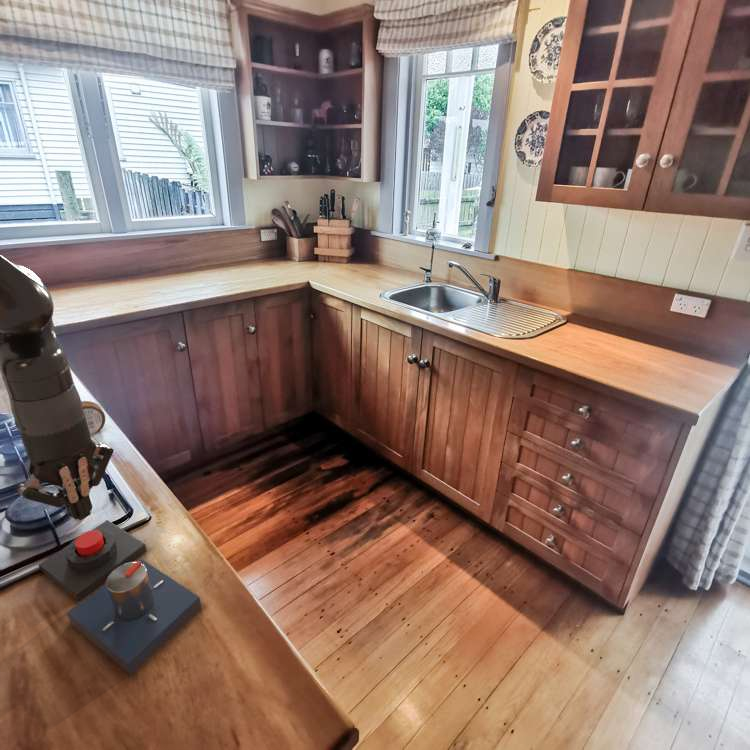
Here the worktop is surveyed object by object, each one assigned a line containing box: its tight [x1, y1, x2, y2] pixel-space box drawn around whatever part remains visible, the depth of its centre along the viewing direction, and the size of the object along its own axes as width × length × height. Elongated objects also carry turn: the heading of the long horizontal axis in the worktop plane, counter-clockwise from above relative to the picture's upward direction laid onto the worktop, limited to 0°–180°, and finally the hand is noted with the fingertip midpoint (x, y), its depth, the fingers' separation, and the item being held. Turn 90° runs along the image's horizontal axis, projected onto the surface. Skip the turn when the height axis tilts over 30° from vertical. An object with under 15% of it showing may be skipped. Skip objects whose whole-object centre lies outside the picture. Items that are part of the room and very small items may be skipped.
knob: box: [105, 560, 154, 620], centre depth 62 cm, size 5×5×6 cm
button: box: [75, 529, 104, 556], centre depth 71 cm, size 4×4×2 cm
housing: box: [38, 520, 148, 603], centre depth 72 cm, size 10×11×4 cm
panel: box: [66, 557, 202, 676], centre depth 64 cm, size 13×11×3 cm
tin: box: [81, 400, 106, 435], centre depth 100 cm, size 15×3×8 cm, turn 135°
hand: (82, 515), depth 70 cm, fingers closed
